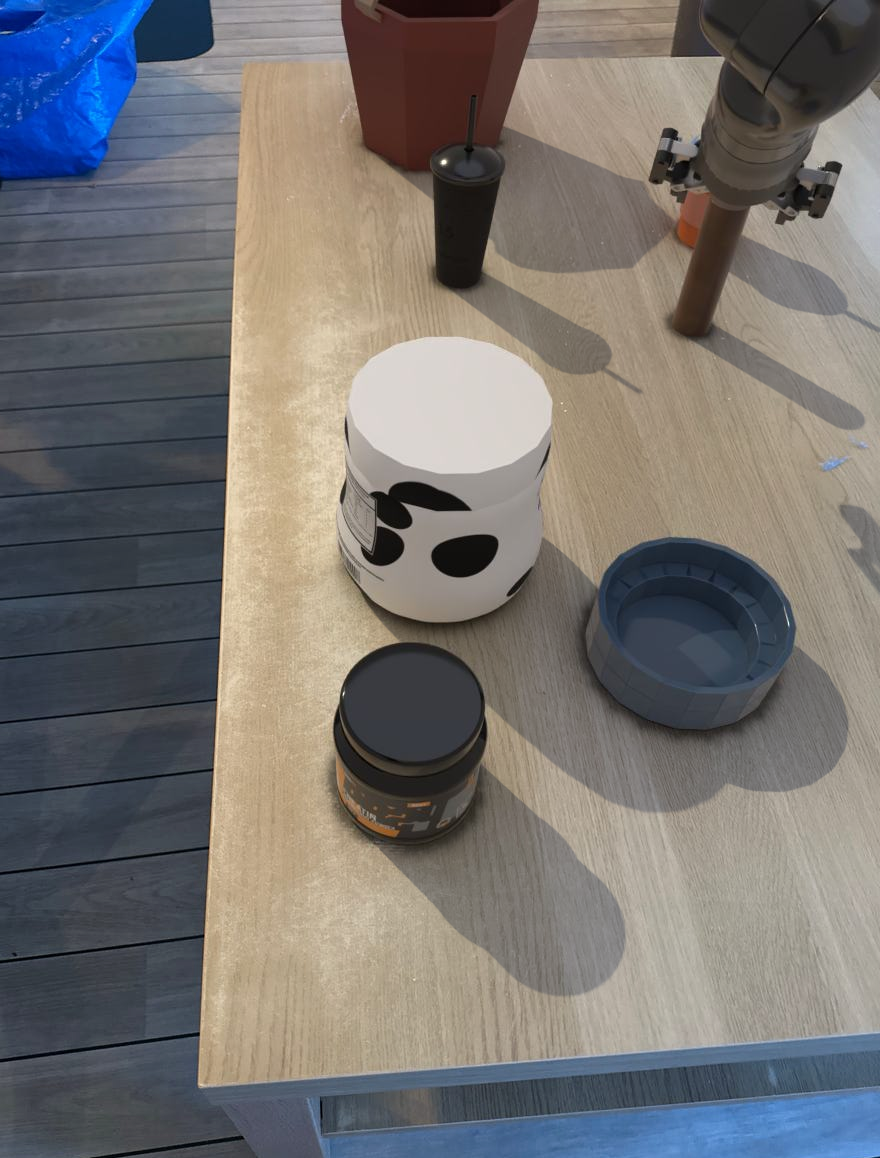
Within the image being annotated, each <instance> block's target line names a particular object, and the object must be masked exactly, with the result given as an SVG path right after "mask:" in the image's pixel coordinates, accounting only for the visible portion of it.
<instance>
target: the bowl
mask: <svg viewBox="0 0 880 1158" xmlns="http://www.w3.org/2000/svg"><path fill="white" fill-rule="evenodd" d="M795 621H796V620H795V617H794V614H793V609H792V605H791V601H790V600H789V599H788V597H787V596H786V594H785V593H784V591H783V590H782V588H781V586H780V585H779V583H778V582H777V580H776V579H775V578H774V577H772V576H771V575H770V574H769V573H768V572H767V571H766V570H765V569H764V568H762V566H760V565H759V563H757V562H755V561H754V559H752V558H749V557H748V556H746V555H744V554H742V553H740V552H738V551H736V550H735V549H732V548H731V547H729V546H726V545H723V544H720V543H716V542H712V541H709V540H705V539H702V538H699V537H684V536H683V537H679V536H667V537H661V538H657V539H656V538H655V539H652V540H647V541H642V542H640V543H638V544H636V545H635V546H633V547H630V548H629V549H627V550H625V551H624V552H621V553H620V554H619V555H617V557H616V558H615V559H614V561H613V562H612V563H611V564H610V565H609V566H608V567H607V569H606V570H605V571H604V573H603V575H602V578H601V581H600V584H599V587H598V591H597V594H596V597H595V600H594V603H593V607H592V610H591V613H590V616H589V620H588V622H587V626H586V629H585V633H584V634H585V635H584V636H585V643H586V645H585V646H586V653H587V654H586V655H587V658H588V661H589V662H590V664H591V668H592V669H593V671H594V673H595V676H596V678H597V680H598V681H599V683H600V684H601V685H602V686H603V687H604V688H605V689H606V690H607V691H608V693H609V694H611V695H612V697H613V698H614V699H615V700H616V702H618V703H619V704H621V705H622V706H624V707H626V708H628V709H629V710H630V711H632V712H634V713H635V714H636V715H639V716H640V717H642V718H643V719H645V720H648V721H651V722H654V723H657V724H661V725H664V726H667V727H669V728H673V729H677V730H678V729H679V730H701V731H706V730H707V731H708V730H712V729H715V728H720V727H724V726H728V725H732V724H735V723H737V722H738V721H740V720H742V719H744V718H745V717H746V716H747V715H749V714H751V713H752V712H754V711H755V710H757V708H759V706H760V705H761V703H762V702H763V700H764V699H765V697H766V696H767V694H768V692H769V691H770V690H771V688H772V686H773V684H775V681H776V680H777V678H778V677H779V675H780V673H781V671H782V670H783V669H784V667H785V665H786V663H788V661H789V659H790V657H791V656H792V654H793V652H794V646H795V641H796V633H797V625H796V622H795Z"/></svg>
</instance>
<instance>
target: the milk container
mask: <svg viewBox="0 0 880 1158" xmlns="http://www.w3.org/2000/svg"><path fill="white" fill-rule="evenodd" d="M352 379H353V380H352V384H351V386H350V387H351V388H350V392H349V396H348V399H347V405H346V409H345V417H344V460H345V461H344V462H345V479H344V482H343V485H342V487H341V489H340V492H339V493H340V494H339V497H338V500H337V504H336V511H335V536H336V541H337V546H338V550H339V554H340V558H341V561H342V564H343V565H344V567H345V570H346V573H347V575H348V576H349V577H350V579H351V580H352V582H353V584H355V586H356V587H357V588H358V589H359V590H360V591H361V592H362V593H363V594H364V595H365V596H366V597H367V598H368V600H371V601H372V602H373V603H375V604H376V605H378V606H380V607H381V608H382V609H385V610H386V611H388V612H389V613H391V614H393V615H396V616H399V617H402V618H405V619H409V620H413V621H417V622H422V623H427V624H452V623H453V624H454V623H462V622H465V621H471V620H472V619H476V618H479V617H482V616H485V615H487V614H489V613H491V612H493V611H495V610H497V609H499V607H501V606H502V605H504V604H505V603H507V602H508V601H509V600H511V598H513V597H514V596H515V595H516V594H517V593H518V592H519V591H520V589H521V588H522V587H523V585H524V584H525V582H526V581H527V579H528V577H529V576H530V574H531V573H532V570H533V568H534V566H535V563H536V561H537V559H538V556H539V554H540V549H541V546H542V542H543V534H544V513H543V506H542V500H541V491H542V485H543V483H544V478H545V474H546V470H547V466H548V460H549V456H550V451H551V445H552V444H551V443H552V429H553V413H554V403H553V398H552V396H551V394H550V392H549V390H548V388H547V385H546V383H545V381H544V379H543V377H542V376H541V375H540V374H539V373H538V372H537V371H536V370H534V368H533V367H531V366H530V364H529V363H527V362H526V361H525V360H524V359H523V358H522V357H521V356H518V355H516V354H514V353H512V352H510V351H508V350H506V349H504V348H502V347H500V346H498V345H496V344H494V343H491V342H485V341H481V340H478V339H477V340H476V339H472V338H467V337H464V336H425V337H420V338H417V339H412V340H407V341H404V342H399V343H396V344H394V345H392V346H390V347H388V348H386V349H385V350H383V351H381V352H379V353H378V354H375V356H373V357H371V358H369V360H368V361H367V362H366V363H365V364H364V365H363V367H362V368H361V369H360V370H359V371H358V373H357V374H356V375H355V376H354V377H353V378H352Z"/></svg>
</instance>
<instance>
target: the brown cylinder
mask: <svg viewBox="0 0 880 1158" xmlns="http://www.w3.org/2000/svg"><path fill="white" fill-rule="evenodd" d="M751 208H752V206H746V207H742V206H734V205H730V204H727V203H725V202H723V201H721V200H719V199H718V198H716V197H715V196H714V195H712V194H710V197H709V200H708V204H707V207H706V210H705V214H704V217H703V220H702V223H701V227H700V230H699V233H698V237H697V240H696V243H695V247H694V248H693V250H692V254H691V257H690V259H689V263H688V267H687V270H686V273H685V276H684V280H683V283H682V287H681V290H680V293H679V296H678V299H677V303H676V306H675V309H674V313H673V316H672V319H671V326H672V328H673V329H674V330H675V331H676V332H677V333H678V334H681V335H682V336H686V337H690V338H691V337H692V338H699V337H702V336H703V337H704V336H705V335H707V334H708V333H709V331H710V327H711V325H712V322H713V319H714V316H715V314H716V310H717V308H718V305H719V301H720V298H721V296H722V292H723V290H724V286H725V284H726V282H727V278H728V275H729V273H730V268H731V266H732V264H733V261H734V257H735V255H736V252H737V249H738V246H739V243H740V239H741V237H742V234H743V231H744V228H745V225H746V222H747V219H748V216H749V214H750V211H751Z"/></svg>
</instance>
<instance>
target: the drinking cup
mask: <svg viewBox="0 0 880 1158" xmlns="http://www.w3.org/2000/svg"><path fill="white" fill-rule="evenodd" d="M476 107H477V95H475V94H472V95H471V96H470V106H469V118H468V129H467V141H466V142H453V143H449V144H445V145H443V146H441V147H439V148H437V149H436V150H435V151H434V152H433V153H432V155H431V158H430V167H431V170H430V171H432V189H433V190H432V193H433V195H432V196H433V220H434V222H433V223H434V248H435V249H434V250H435V251H434V253H435V255H434V256H435V257H434V258H435V277H436V279H437V281H438V282H439V283H440V284H441V285H444V286H445V287H448V288H451V289H456V290H457V289H458V290H459V289H460V290H463V289H468V288H472V287H474V286H475V285H477V284H478V283H479V281H480V279H481V276H482V270H483V265H484V262H485V261H484V260H485V255H486V251H487V246H488V241H489V237H490V233H491V227H492V224H493V217H494V213H495V209H496V203H497V200H498V194H499V189H500V184H501V181H502V177H503V176H504V174H505V172H506V167H507V163H506V162H507V161H506V159H505V157H504V155H503V154H502V153H501V152H500V151H499V150H497V149H496V148H494V147H493V148H492V147H490V146H487V145H484V144H481V143H476V142H473V139H474V128H475V117H476Z"/></svg>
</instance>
